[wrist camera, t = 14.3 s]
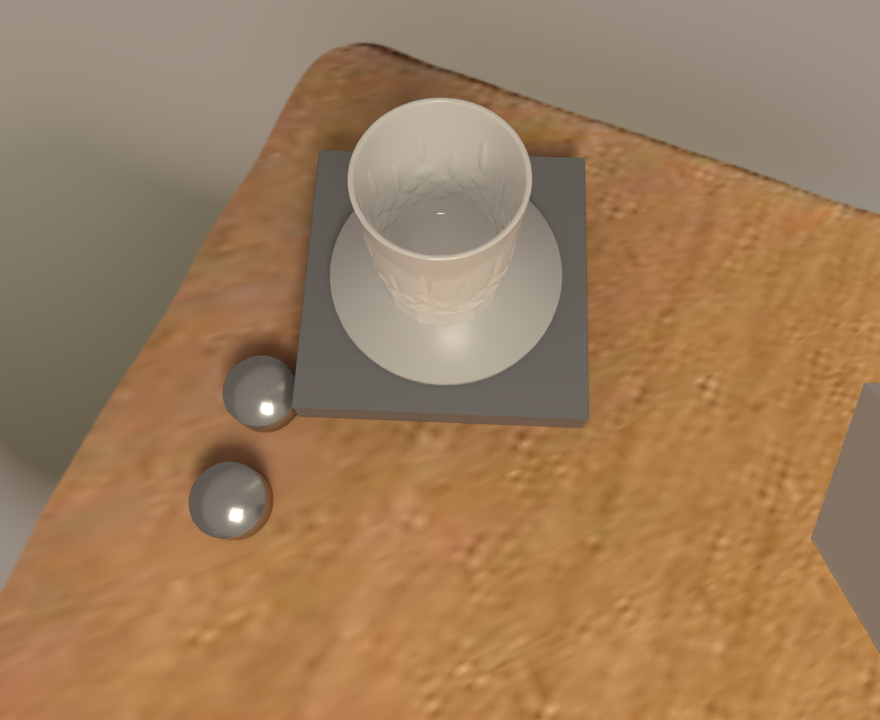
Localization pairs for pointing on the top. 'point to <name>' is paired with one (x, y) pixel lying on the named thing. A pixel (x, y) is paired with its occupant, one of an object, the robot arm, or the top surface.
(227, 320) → the top surface
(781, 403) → the top surface
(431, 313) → the white cup
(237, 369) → the cylinder
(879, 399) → the robot arm
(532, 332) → the scale
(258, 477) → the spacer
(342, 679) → the top surface
